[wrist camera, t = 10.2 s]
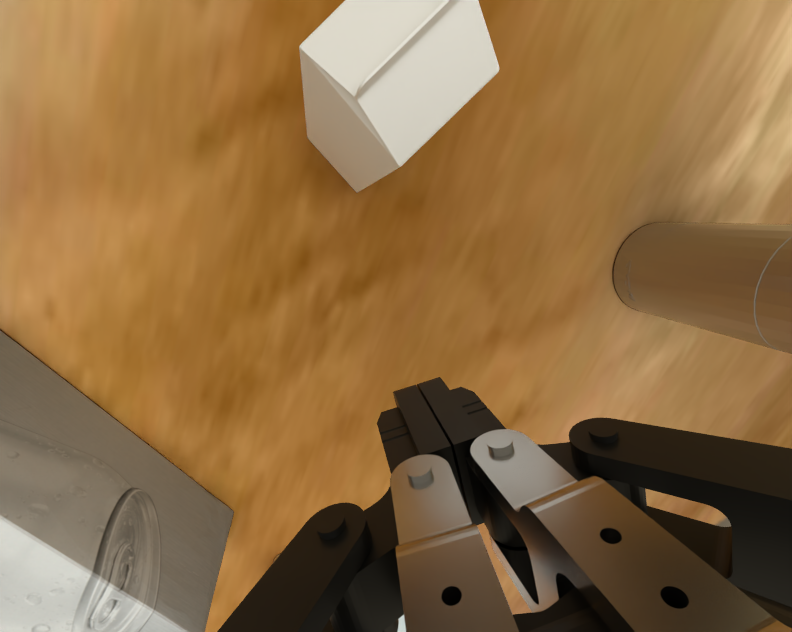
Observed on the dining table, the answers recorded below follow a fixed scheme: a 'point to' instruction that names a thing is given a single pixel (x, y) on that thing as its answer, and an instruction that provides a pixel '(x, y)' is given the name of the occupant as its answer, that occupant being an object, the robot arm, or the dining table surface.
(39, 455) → the soda pack
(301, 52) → the milk
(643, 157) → the dining table surface
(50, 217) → the dining table surface
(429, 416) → the robot arm
